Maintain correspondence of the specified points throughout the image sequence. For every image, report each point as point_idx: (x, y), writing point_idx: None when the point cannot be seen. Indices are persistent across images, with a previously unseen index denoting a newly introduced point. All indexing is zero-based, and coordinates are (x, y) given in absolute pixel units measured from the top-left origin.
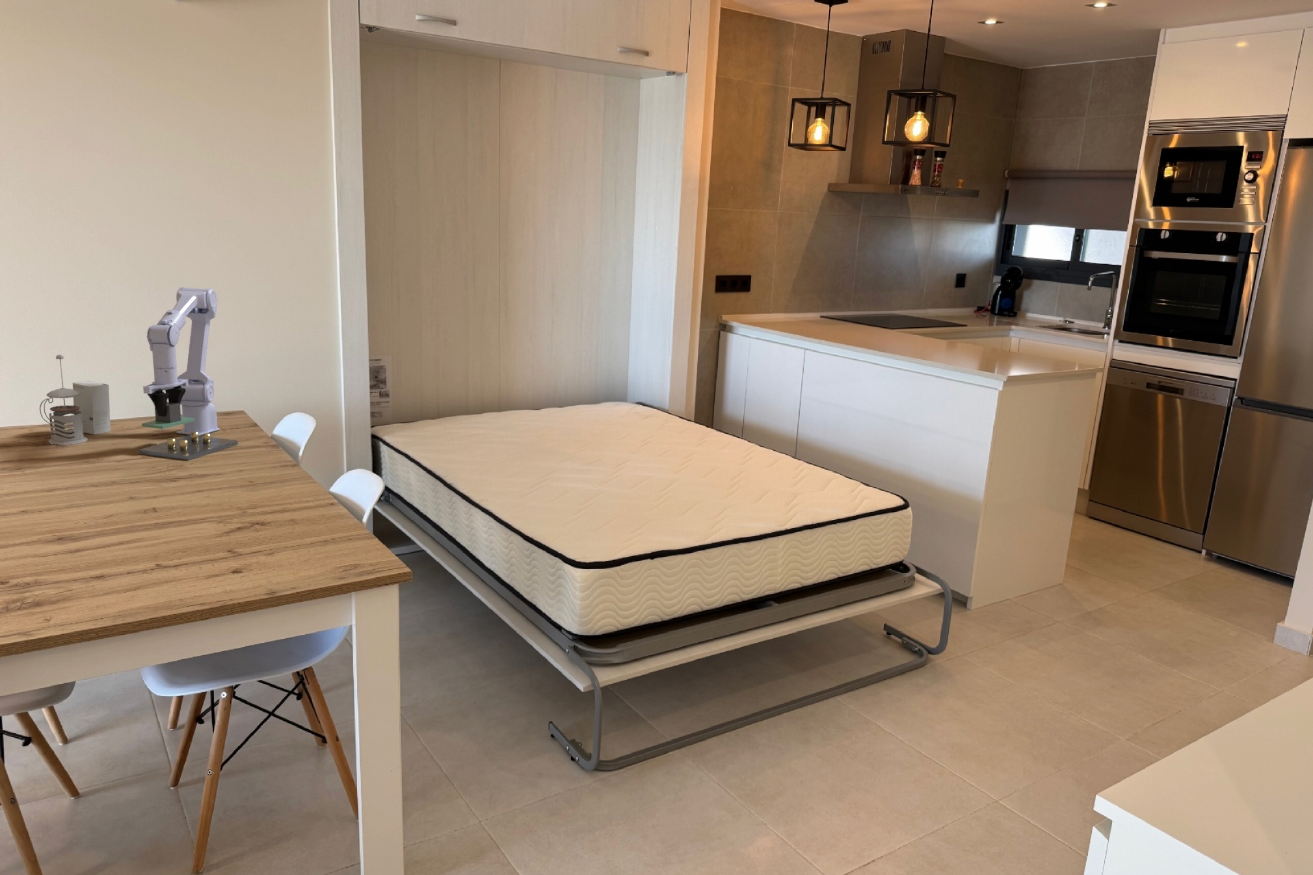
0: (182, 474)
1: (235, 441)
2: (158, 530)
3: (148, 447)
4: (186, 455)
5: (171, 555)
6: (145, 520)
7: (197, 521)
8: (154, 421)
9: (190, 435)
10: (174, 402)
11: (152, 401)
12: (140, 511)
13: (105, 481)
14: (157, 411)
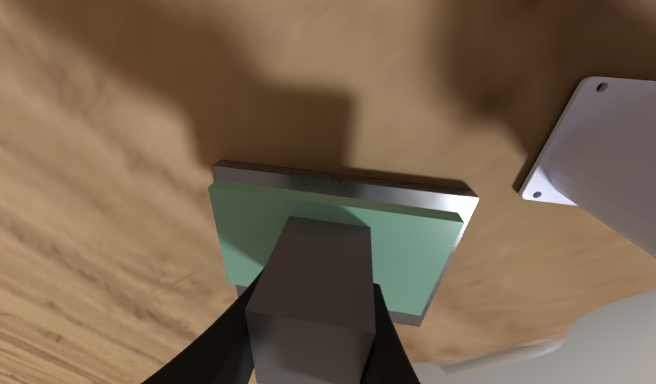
0: (170, 312)
1: (410, 324)
2: (38, 357)
3: (250, 176)
4: (241, 292)
5: (27, 376)
6: (36, 342)
7: (79, 372)
8: (281, 213)
9: (464, 202)
10: (366, 381)
11: (179, 354)
12: (42, 330)
13: (43, 234)
14: (249, 289)
